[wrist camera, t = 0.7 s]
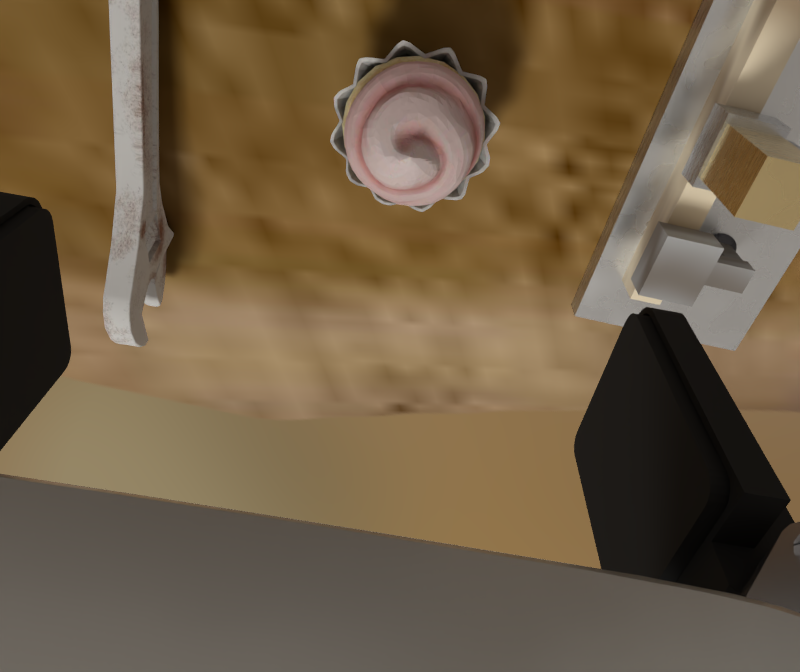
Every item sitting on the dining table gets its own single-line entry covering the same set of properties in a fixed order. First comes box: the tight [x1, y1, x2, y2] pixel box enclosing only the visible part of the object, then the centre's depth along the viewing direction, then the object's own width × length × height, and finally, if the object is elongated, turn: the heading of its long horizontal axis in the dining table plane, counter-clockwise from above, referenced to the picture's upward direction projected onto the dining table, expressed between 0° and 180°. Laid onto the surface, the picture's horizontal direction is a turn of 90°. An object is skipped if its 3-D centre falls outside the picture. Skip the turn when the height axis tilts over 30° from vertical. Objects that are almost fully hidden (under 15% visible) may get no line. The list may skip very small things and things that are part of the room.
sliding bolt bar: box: [622, 0, 800, 307], centre depth 36 cm, size 23×6×5 cm, turn 168°
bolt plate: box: [571, 0, 800, 351], centre depth 39 cm, size 28×12×2 cm, turn 168°
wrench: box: [103, 0, 174, 347], centre depth 38 cm, size 8×2×30 cm
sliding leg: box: [681, 103, 800, 231], centre depth 34 cm, size 4×6×9 cm, turn 78°
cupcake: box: [330, 40, 500, 212], centre depth 36 cm, size 9×9×10 cm
